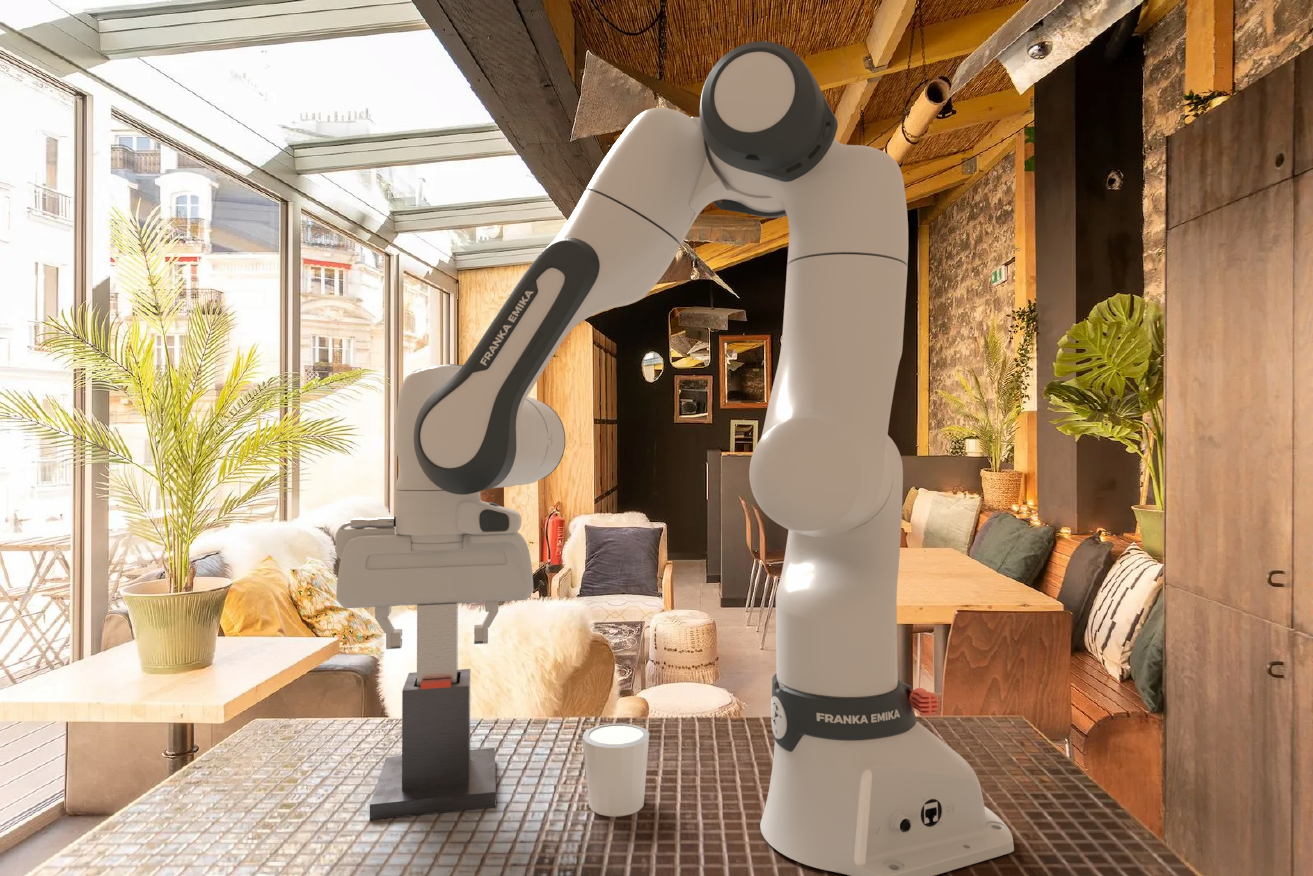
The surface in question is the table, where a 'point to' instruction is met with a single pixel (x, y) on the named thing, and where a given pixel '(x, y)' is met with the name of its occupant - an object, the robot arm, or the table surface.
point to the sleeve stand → (435, 755)
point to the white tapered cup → (616, 768)
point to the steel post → (437, 642)
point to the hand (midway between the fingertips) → (438, 645)
